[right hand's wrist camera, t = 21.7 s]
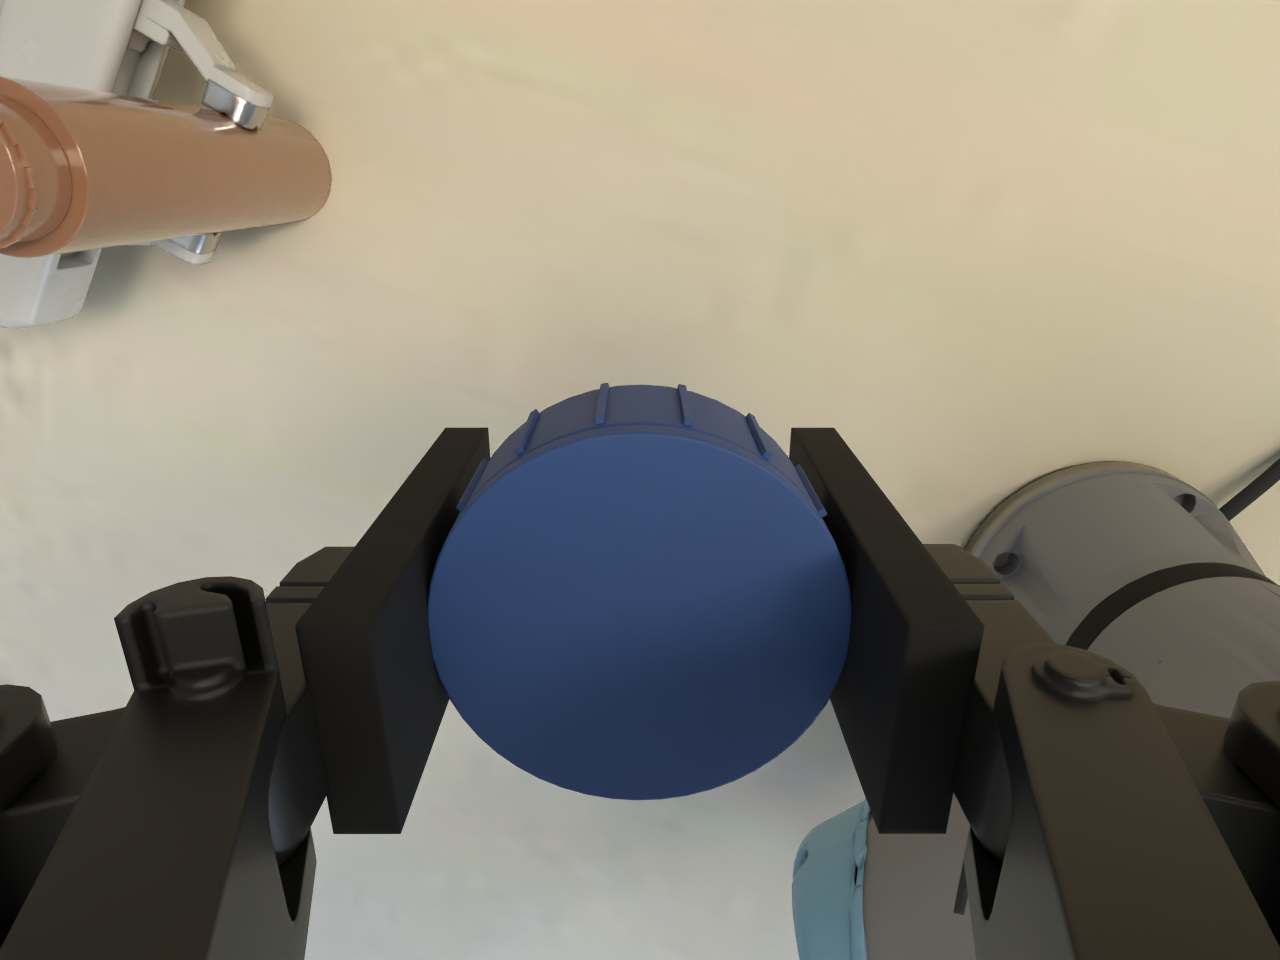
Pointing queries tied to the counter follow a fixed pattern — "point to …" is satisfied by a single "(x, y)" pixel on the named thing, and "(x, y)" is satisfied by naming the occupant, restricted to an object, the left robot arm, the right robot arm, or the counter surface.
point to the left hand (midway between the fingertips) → (235, 182)
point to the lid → (639, 596)
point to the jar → (142, 170)
